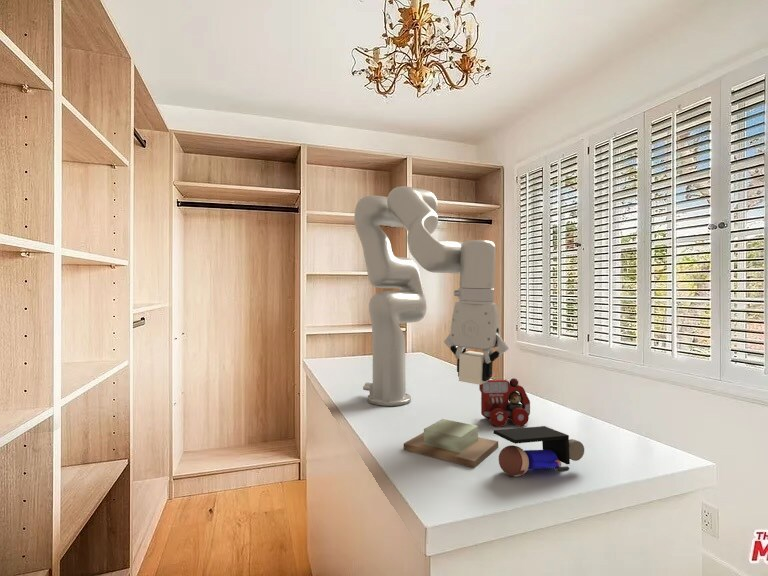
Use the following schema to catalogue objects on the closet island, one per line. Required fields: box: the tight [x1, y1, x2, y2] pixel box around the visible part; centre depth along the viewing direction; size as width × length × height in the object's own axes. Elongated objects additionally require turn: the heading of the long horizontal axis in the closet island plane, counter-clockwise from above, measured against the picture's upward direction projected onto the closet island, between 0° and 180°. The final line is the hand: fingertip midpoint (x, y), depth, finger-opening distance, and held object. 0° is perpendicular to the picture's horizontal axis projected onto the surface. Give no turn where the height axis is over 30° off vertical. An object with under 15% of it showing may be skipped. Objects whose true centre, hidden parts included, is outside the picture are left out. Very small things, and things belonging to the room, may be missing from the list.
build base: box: [403, 418, 499, 469], centre depth 84 cm, size 15×12×4 cm
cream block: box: [458, 350, 490, 386], centre depth 93 cm, size 5×5×6 cm
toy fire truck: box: [478, 377, 531, 428], centre depth 101 cm, size 7×12×10 cm, turn 97°
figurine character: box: [492, 425, 585, 477], centre depth 74 cm, size 7×8×15 cm
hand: (474, 377), depth 93 cm, fingers closed on cream block, 5 cm apart
